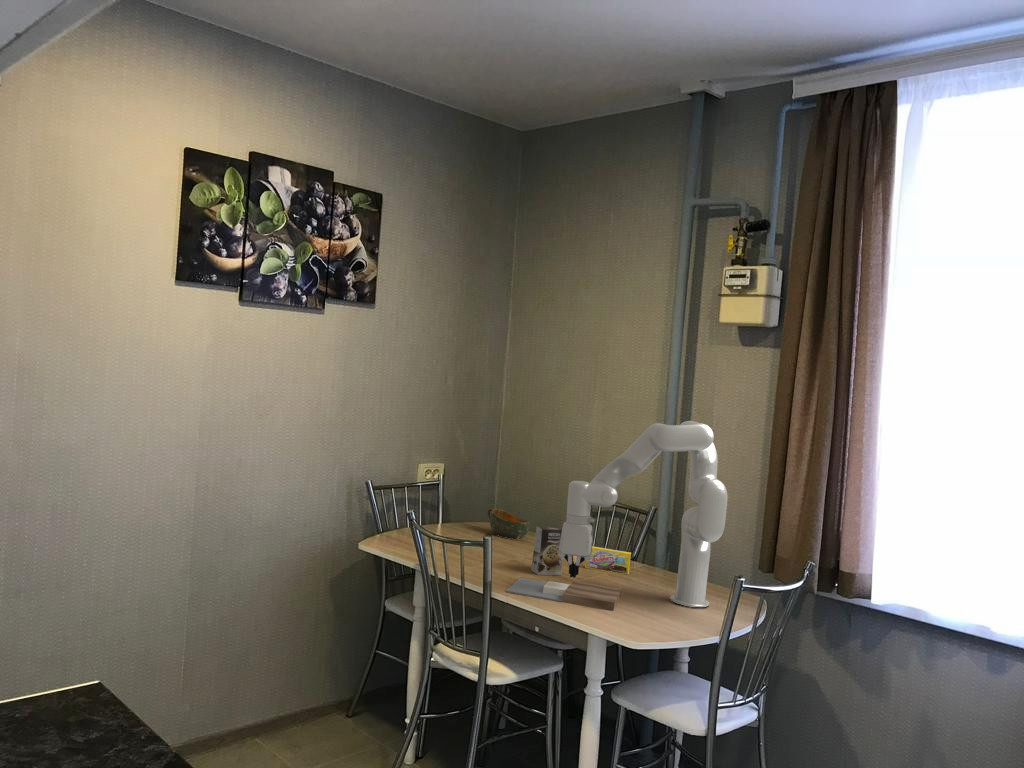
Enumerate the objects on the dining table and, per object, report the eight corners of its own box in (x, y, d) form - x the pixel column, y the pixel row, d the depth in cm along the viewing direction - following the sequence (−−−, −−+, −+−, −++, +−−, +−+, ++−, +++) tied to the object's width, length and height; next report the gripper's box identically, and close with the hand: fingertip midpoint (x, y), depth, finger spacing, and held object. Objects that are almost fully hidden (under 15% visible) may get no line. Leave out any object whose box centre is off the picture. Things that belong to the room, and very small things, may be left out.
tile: (548, 586, 273) (548, 580, 273) (569, 590, 271) (569, 584, 271) (542, 592, 265) (543, 586, 265) (564, 596, 263) (565, 590, 263)
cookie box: (538, 575, 289) (543, 529, 289) (530, 570, 295) (535, 525, 295) (561, 575, 293) (566, 530, 292) (554, 570, 299) (559, 526, 298)
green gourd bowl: (510, 530, 363) (513, 507, 363) (530, 542, 345) (533, 517, 344) (483, 530, 358) (486, 507, 357) (502, 542, 339) (504, 517, 339)
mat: (520, 579, 281) (520, 577, 281) (572, 588, 277) (572, 586, 277) (506, 592, 263) (506, 590, 263) (561, 602, 258) (562, 600, 258)
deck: (572, 588, 276) (573, 580, 276) (620, 596, 272) (621, 589, 272) (562, 601, 259) (563, 593, 259) (613, 610, 255) (614, 602, 255)
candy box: (584, 568, 308) (586, 546, 307) (585, 567, 310) (587, 545, 309) (628, 575, 304) (630, 553, 304) (628, 574, 306) (631, 552, 306)
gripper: (602, 520, 269) (598, 577, 269) (557, 515, 273) (552, 570, 273) (599, 524, 262) (594, 582, 262) (552, 518, 265) (548, 576, 266)
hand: (573, 576), depth 268 cm, fingers closed
